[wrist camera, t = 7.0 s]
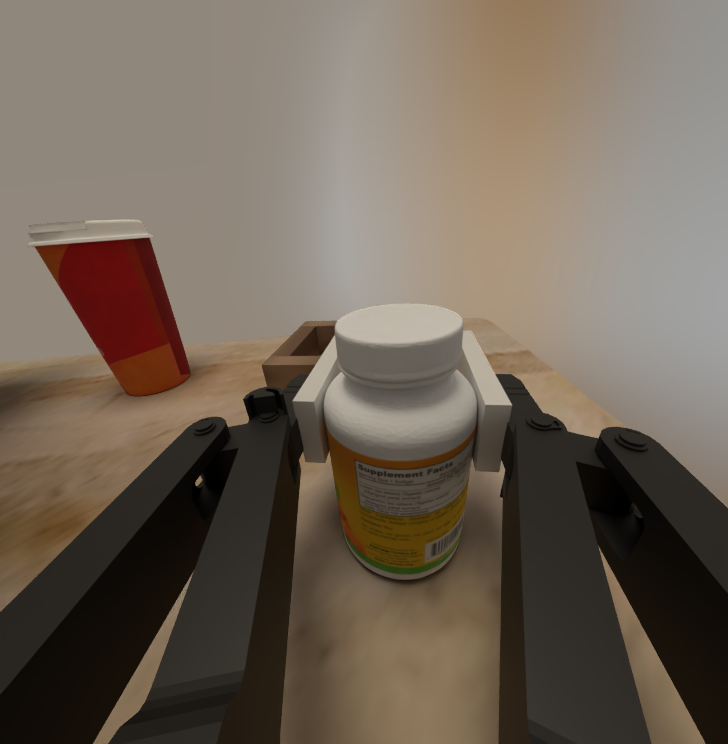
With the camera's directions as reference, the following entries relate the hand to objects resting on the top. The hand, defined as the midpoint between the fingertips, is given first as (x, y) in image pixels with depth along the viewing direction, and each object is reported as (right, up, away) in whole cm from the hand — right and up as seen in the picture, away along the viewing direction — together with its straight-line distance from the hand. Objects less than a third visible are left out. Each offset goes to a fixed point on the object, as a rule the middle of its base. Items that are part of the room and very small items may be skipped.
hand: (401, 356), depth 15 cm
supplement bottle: (0, -8, -2) cm, 8 cm away
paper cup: (-22, -2, +13) cm, 26 cm away
